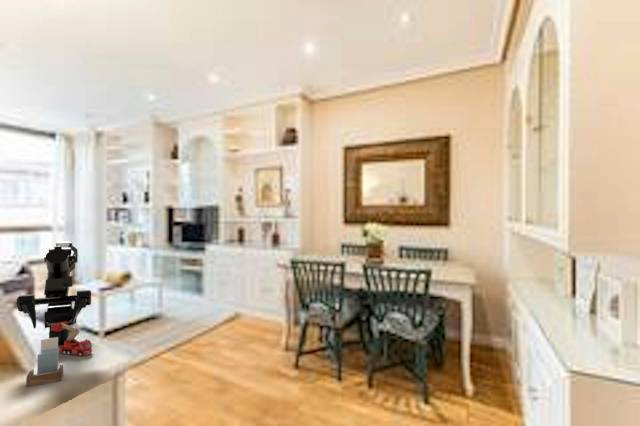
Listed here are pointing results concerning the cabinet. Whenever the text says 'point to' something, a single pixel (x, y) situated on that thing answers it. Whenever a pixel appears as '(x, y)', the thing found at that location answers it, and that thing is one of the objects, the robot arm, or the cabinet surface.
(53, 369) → the block on wooden base
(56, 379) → the dock
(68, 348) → the toy fire truck
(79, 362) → the cabinet surface
